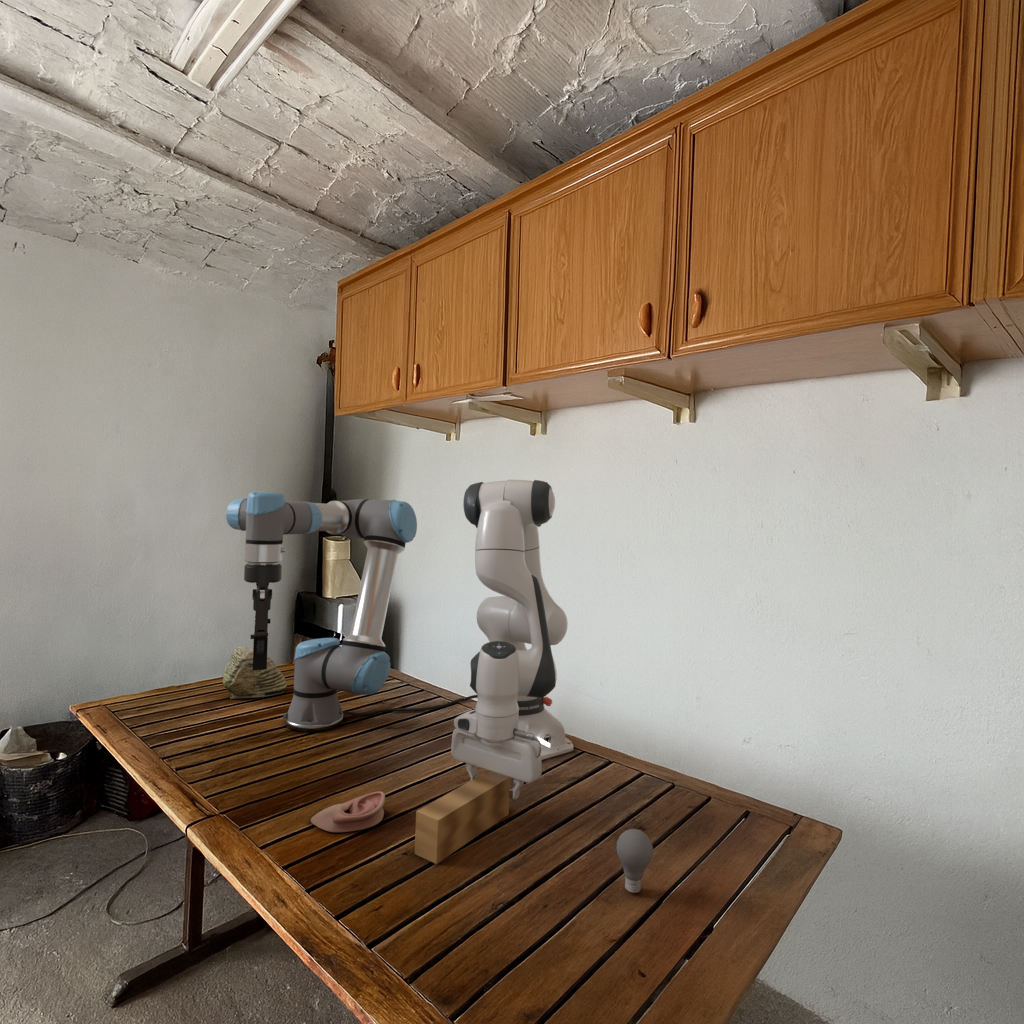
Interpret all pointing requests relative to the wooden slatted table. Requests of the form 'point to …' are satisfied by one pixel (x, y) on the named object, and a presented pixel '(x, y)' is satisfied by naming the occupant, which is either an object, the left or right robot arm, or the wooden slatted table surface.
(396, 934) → the wooden slatted table surface
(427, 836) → the bar
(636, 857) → the light bulb
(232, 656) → the fossil
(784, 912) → the wooden slatted table surface
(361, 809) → the anatomical model
